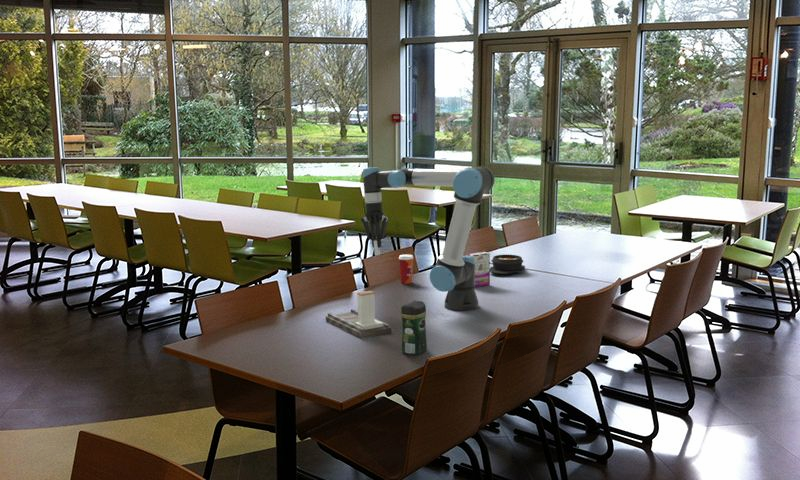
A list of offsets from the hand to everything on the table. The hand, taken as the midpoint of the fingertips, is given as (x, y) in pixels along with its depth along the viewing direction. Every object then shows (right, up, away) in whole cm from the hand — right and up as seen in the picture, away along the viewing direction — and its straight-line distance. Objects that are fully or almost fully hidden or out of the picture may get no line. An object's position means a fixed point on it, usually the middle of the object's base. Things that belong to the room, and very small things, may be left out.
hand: (377, 254), depth 350 cm
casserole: (+67, -11, +68) cm, 96 cm away
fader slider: (-2, -28, -39) cm, 48 cm away
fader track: (-7, -29, -31) cm, 43 cm away
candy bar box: (+49, -16, +38) cm, 64 cm away
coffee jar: (+15, -34, -64) cm, 74 cm away
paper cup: (+13, -15, +46) cm, 50 cm away
